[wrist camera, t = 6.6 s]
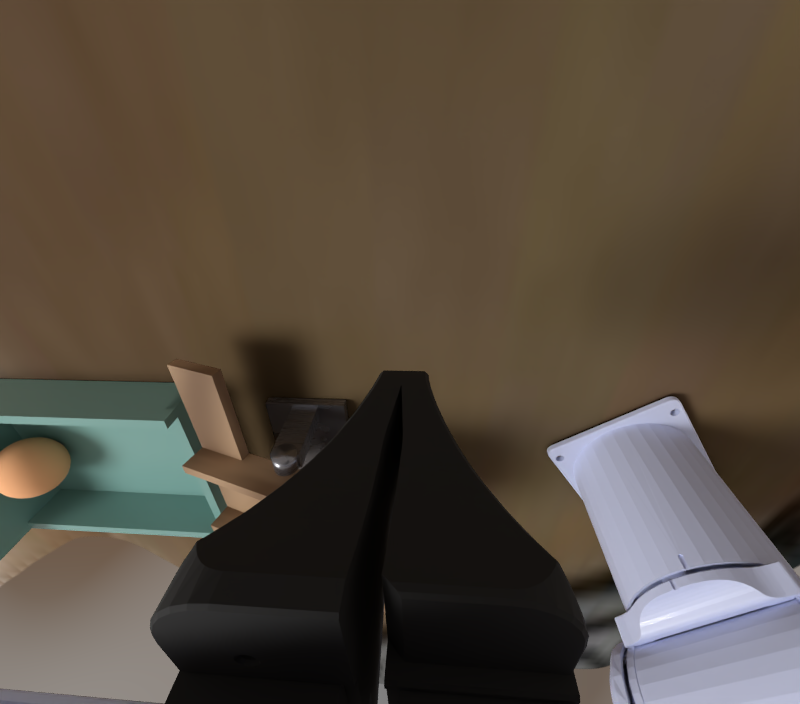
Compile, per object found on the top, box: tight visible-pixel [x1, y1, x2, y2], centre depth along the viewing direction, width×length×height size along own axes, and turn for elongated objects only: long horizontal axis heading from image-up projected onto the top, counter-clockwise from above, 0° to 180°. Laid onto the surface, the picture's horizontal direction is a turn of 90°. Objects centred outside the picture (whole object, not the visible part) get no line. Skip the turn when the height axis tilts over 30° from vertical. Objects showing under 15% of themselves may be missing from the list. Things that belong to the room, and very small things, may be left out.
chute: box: [167, 359, 386, 614], centre depth 21 cm, size 13×12×4 cm
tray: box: [0, 379, 227, 560], centre depth 25 cm, size 15×11×6 cm
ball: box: [0, 437, 71, 499], centre depth 26 cm, size 4×4×4 cm
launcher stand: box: [265, 398, 348, 476], centre depth 24 cm, size 5×9×5 cm, turn 1°
